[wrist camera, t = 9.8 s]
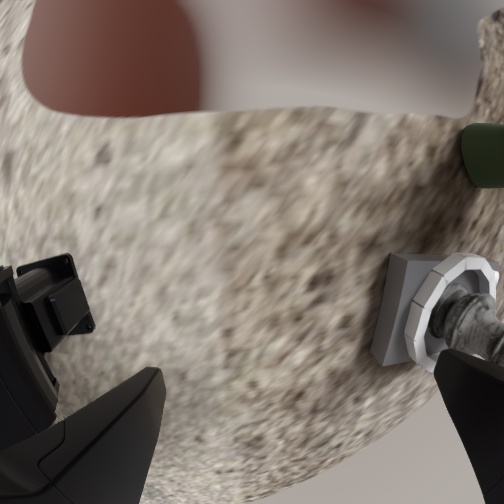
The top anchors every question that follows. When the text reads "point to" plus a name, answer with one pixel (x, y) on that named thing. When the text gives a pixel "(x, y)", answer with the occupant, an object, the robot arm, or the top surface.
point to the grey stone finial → (468, 323)
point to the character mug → (484, 154)
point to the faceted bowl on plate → (423, 302)
